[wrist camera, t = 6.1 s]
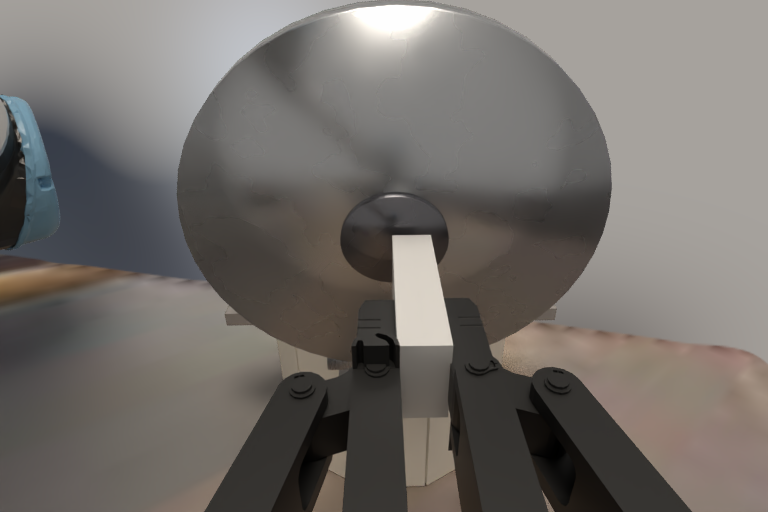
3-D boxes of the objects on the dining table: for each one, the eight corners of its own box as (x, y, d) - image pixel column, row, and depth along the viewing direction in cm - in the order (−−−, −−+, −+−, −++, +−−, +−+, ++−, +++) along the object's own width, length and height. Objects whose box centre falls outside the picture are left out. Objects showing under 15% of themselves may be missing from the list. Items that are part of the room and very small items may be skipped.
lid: (547, 353, 26) (555, 375, 25) (238, 358, 26) (232, 381, 25) (669, -6, 15) (693, 5, 14) (118, 2, 15) (97, 14, 14)
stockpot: (573, 500, 31) (610, 373, 25) (215, 506, 31) (176, 380, 25) (509, 333, 46) (524, 231, 40) (269, 337, 46) (252, 235, 40)
